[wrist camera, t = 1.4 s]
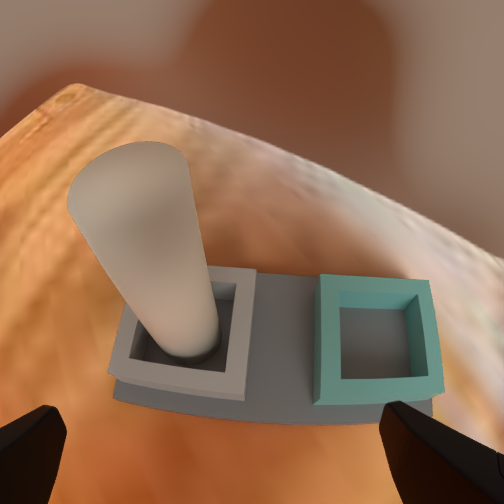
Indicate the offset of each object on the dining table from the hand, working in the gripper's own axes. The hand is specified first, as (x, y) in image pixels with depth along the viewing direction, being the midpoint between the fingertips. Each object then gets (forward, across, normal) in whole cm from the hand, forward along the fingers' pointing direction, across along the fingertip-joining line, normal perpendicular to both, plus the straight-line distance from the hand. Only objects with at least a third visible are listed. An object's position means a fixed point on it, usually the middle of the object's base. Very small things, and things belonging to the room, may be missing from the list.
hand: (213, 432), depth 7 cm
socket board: (+14, -3, +6) cm, 15 cm away
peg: (+14, +3, +4) cm, 15 cm away
